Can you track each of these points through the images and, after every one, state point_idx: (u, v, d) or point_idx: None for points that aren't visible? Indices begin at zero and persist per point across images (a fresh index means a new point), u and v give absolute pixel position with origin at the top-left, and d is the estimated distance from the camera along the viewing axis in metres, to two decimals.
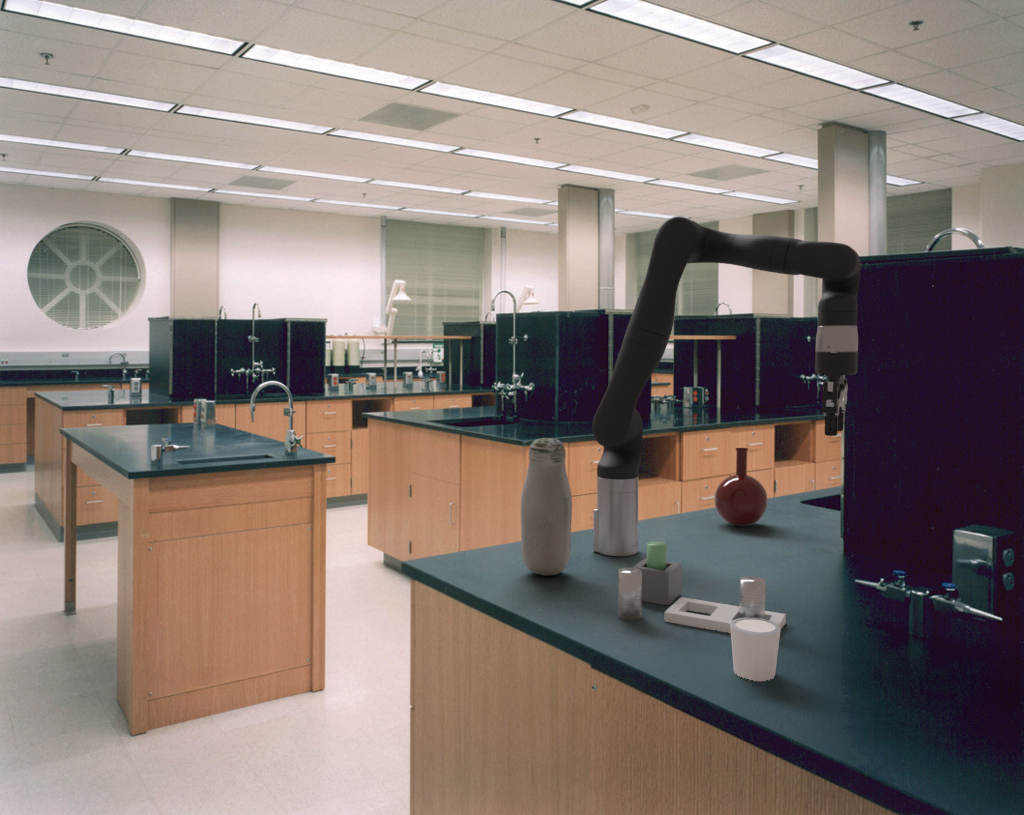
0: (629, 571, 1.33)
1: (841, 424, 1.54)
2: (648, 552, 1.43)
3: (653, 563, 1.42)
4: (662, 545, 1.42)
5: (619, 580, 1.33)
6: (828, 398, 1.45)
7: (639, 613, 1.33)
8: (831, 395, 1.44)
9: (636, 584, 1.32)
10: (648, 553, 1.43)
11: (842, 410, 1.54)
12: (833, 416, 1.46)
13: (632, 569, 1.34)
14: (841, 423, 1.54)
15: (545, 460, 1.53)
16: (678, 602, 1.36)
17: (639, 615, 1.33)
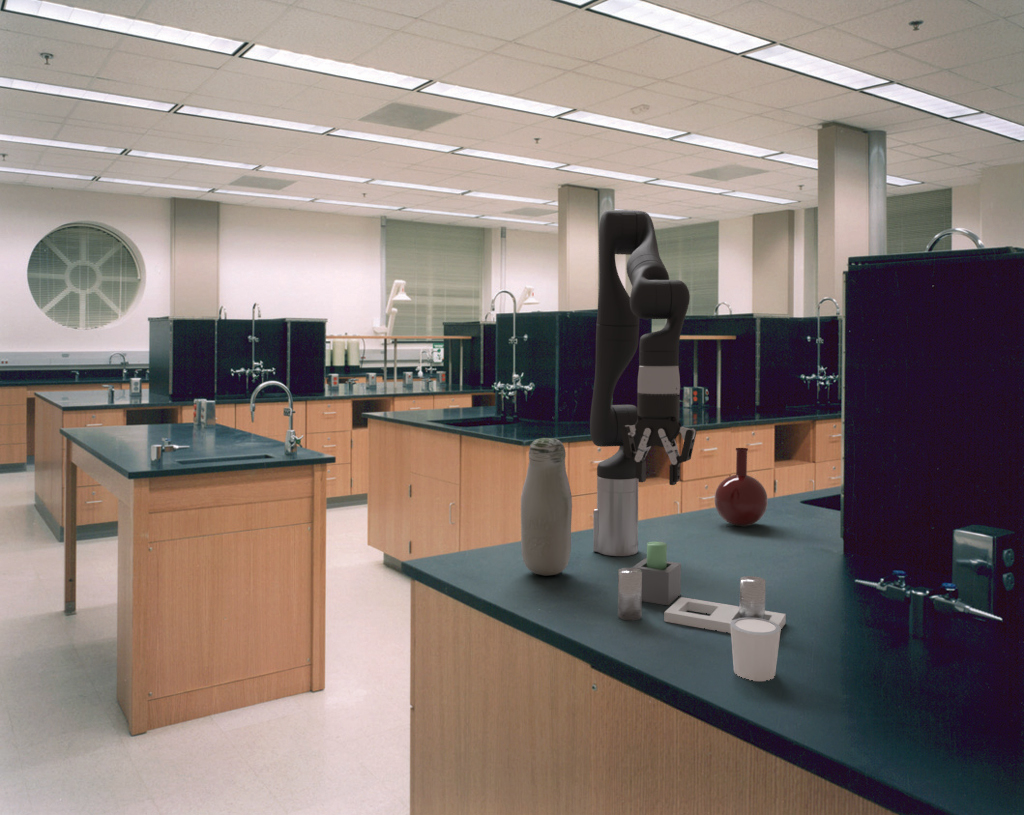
0: (629, 571, 1.33)
1: (645, 473, 1.44)
2: (648, 552, 1.43)
3: (653, 563, 1.42)
4: (662, 545, 1.42)
5: (619, 580, 1.33)
6: (691, 447, 1.38)
7: (639, 613, 1.33)
8: (692, 443, 1.39)
9: (636, 584, 1.32)
10: (648, 553, 1.43)
11: (644, 458, 1.44)
12: (679, 464, 1.41)
13: (632, 569, 1.34)
14: (645, 472, 1.44)
15: (545, 460, 1.53)
16: (678, 602, 1.36)
17: (639, 615, 1.33)
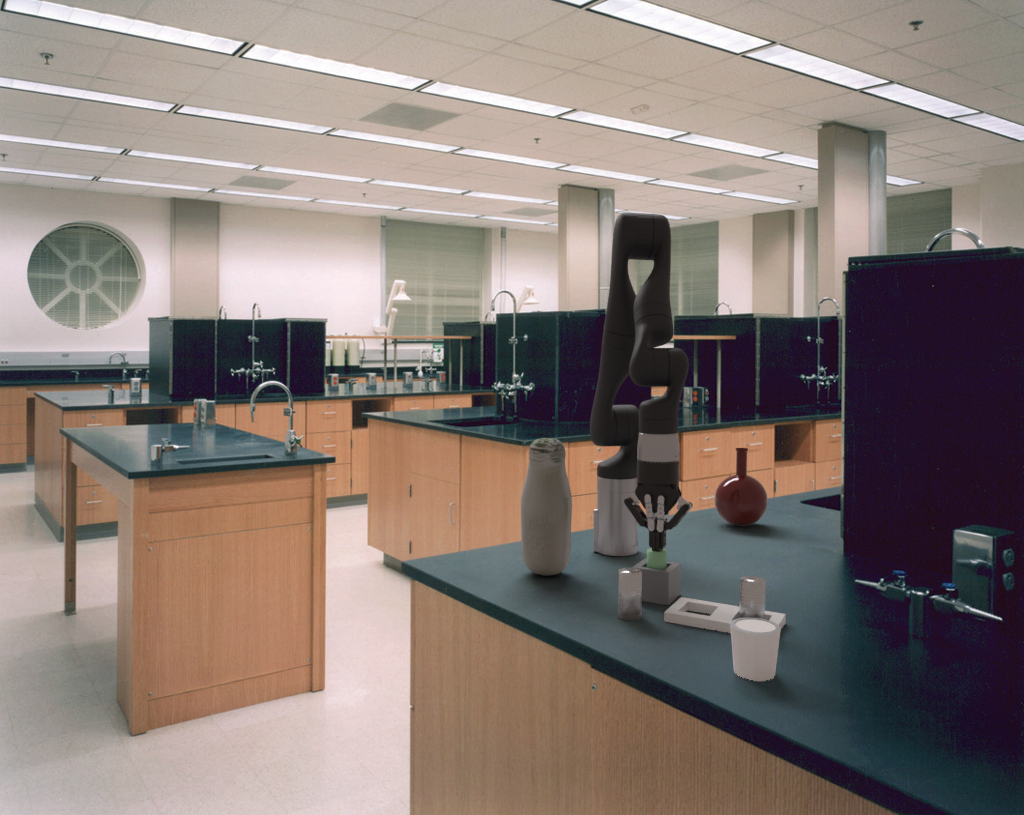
0: (629, 571, 1.33)
1: None
2: (648, 558, 1.43)
3: None
4: (662, 551, 1.42)
5: (619, 580, 1.33)
6: (680, 519, 1.40)
7: (639, 613, 1.33)
8: (683, 516, 1.41)
9: (636, 584, 1.32)
10: (648, 559, 1.43)
11: None
12: None
13: (632, 569, 1.34)
14: None
15: (545, 460, 1.53)
16: (678, 602, 1.36)
17: (639, 615, 1.33)
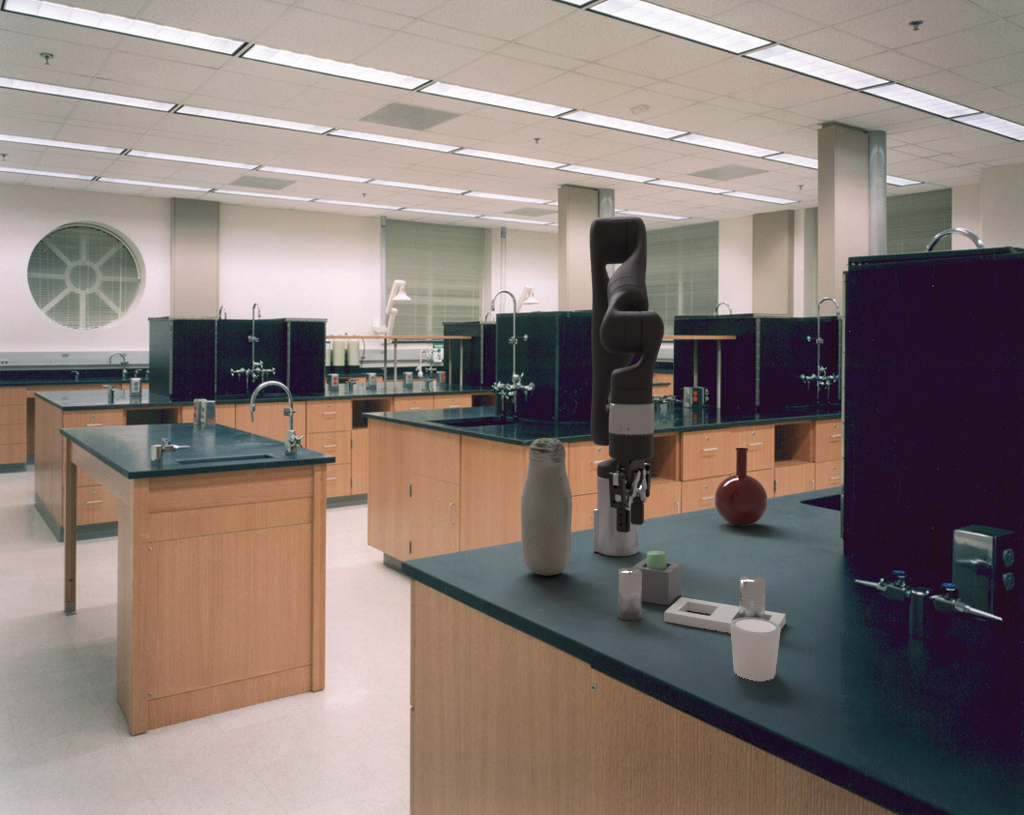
0: (629, 571, 1.33)
1: None
2: (648, 561, 1.43)
3: None
4: (662, 554, 1.42)
5: (619, 580, 1.33)
6: None
7: (639, 613, 1.33)
8: None
9: (636, 584, 1.32)
10: (648, 562, 1.43)
11: None
12: None
13: (632, 569, 1.34)
14: None
15: (545, 460, 1.53)
16: (678, 602, 1.36)
17: (639, 615, 1.33)
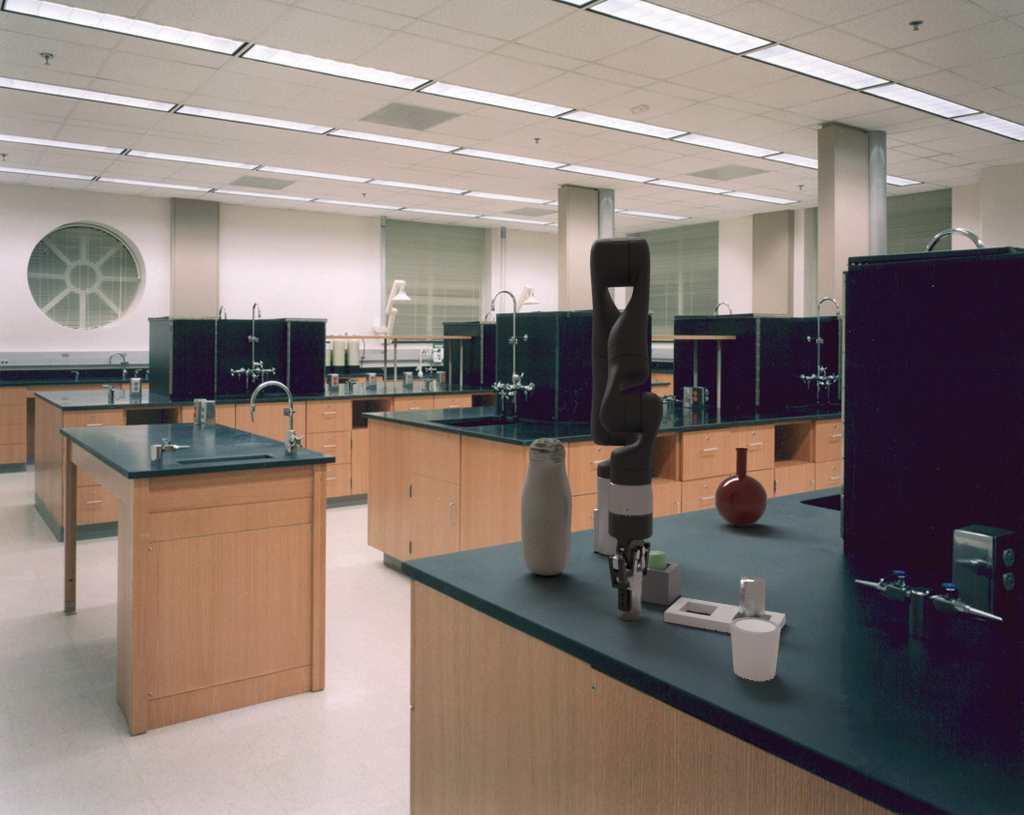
0: None
1: None
2: None
3: None
4: (662, 554, 1.42)
5: None
6: None
7: (639, 613, 1.33)
8: None
9: (636, 584, 1.32)
10: (648, 562, 1.43)
11: None
12: None
13: None
14: None
15: (545, 460, 1.53)
16: (678, 602, 1.36)
17: (639, 615, 1.33)
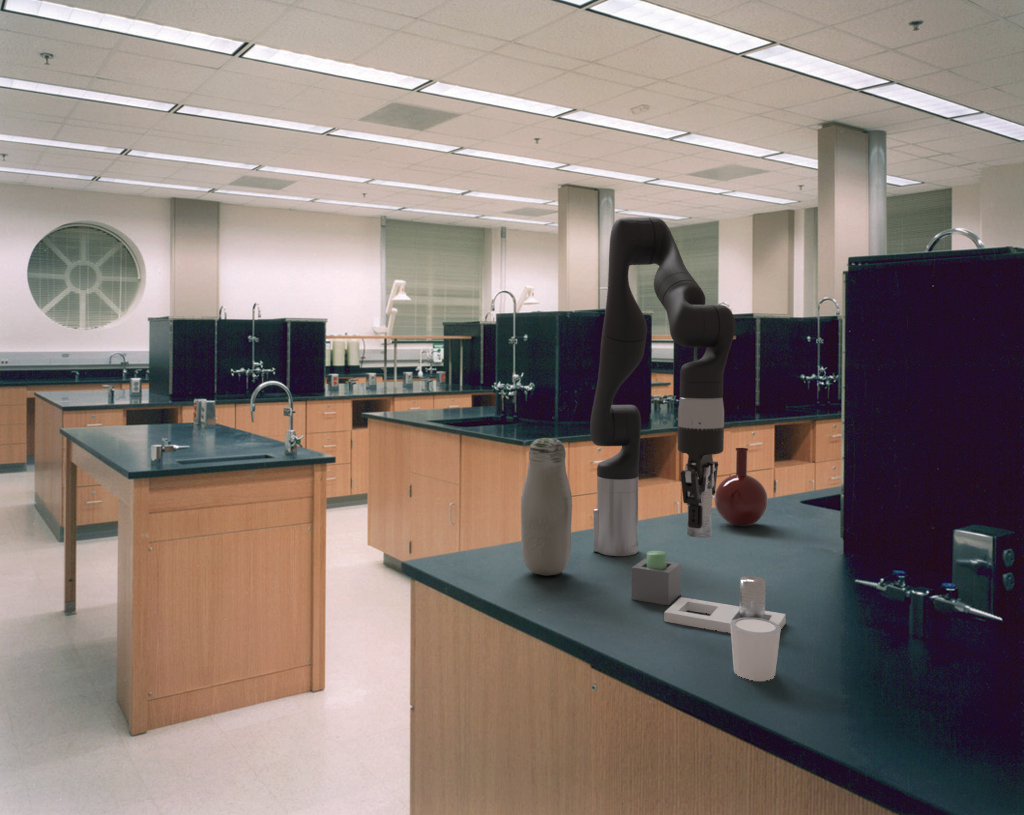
0: None
1: None
2: (648, 561, 1.43)
3: None
4: (662, 554, 1.42)
5: None
6: None
7: (709, 530, 1.31)
8: None
9: (707, 500, 1.30)
10: (648, 562, 1.43)
11: None
12: None
13: None
14: None
15: (545, 460, 1.53)
16: (678, 602, 1.36)
17: (709, 532, 1.31)
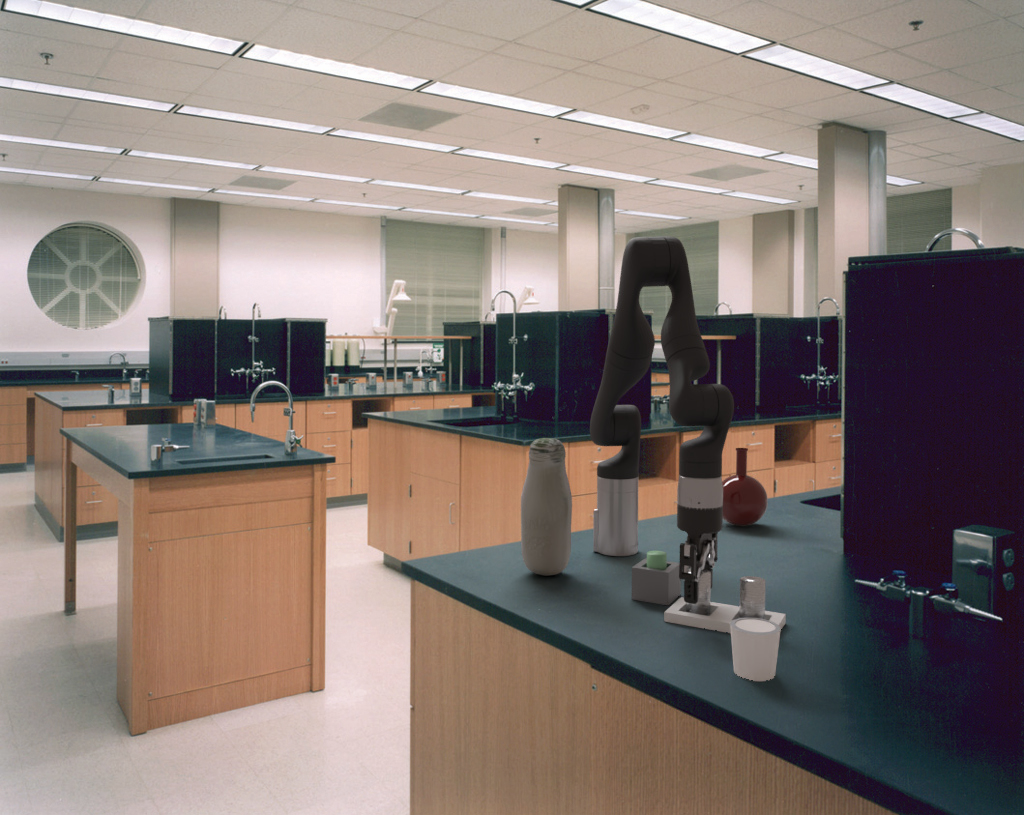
0: None
1: None
2: (648, 561, 1.43)
3: None
4: (662, 554, 1.42)
5: None
6: None
7: (708, 614, 1.32)
8: None
9: (706, 585, 1.31)
10: (648, 562, 1.43)
11: None
12: None
13: None
14: None
15: (545, 460, 1.53)
16: (678, 602, 1.36)
17: None
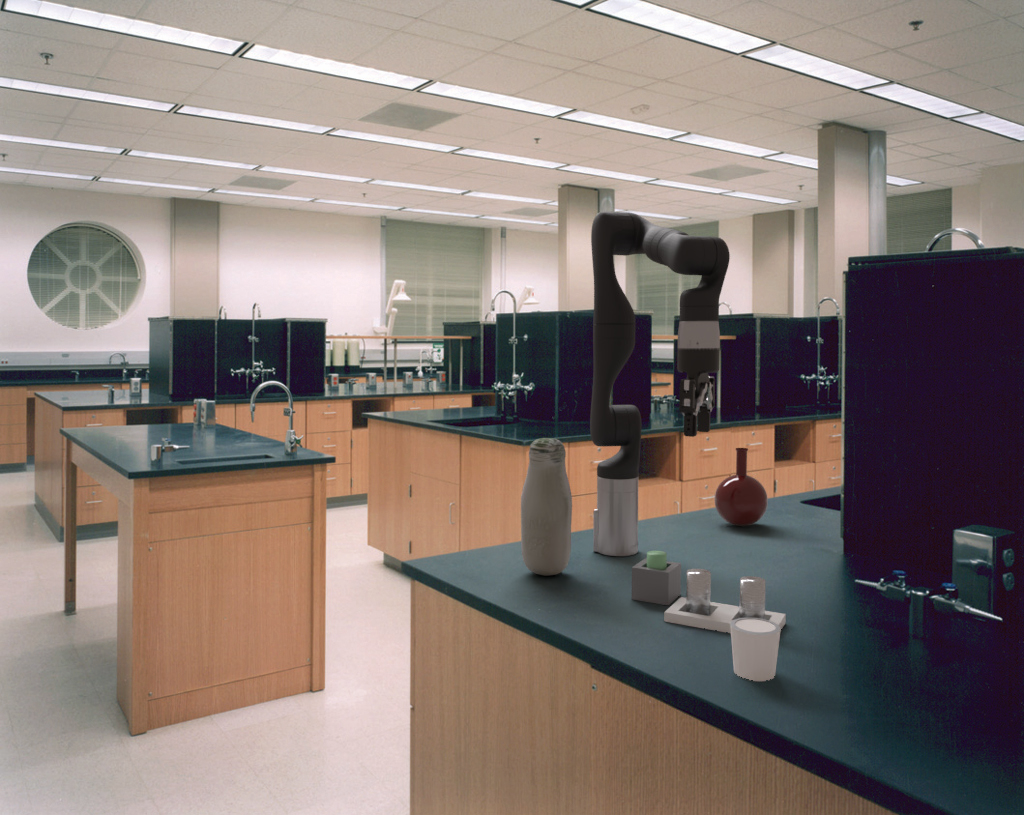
0: (697, 572, 1.32)
1: None
2: (648, 561, 1.43)
3: None
4: (662, 554, 1.42)
5: (688, 581, 1.32)
6: None
7: (708, 614, 1.32)
8: None
9: (706, 585, 1.31)
10: (648, 562, 1.43)
11: None
12: None
13: (700, 570, 1.33)
14: None
15: (545, 460, 1.53)
16: (678, 602, 1.36)
17: None
